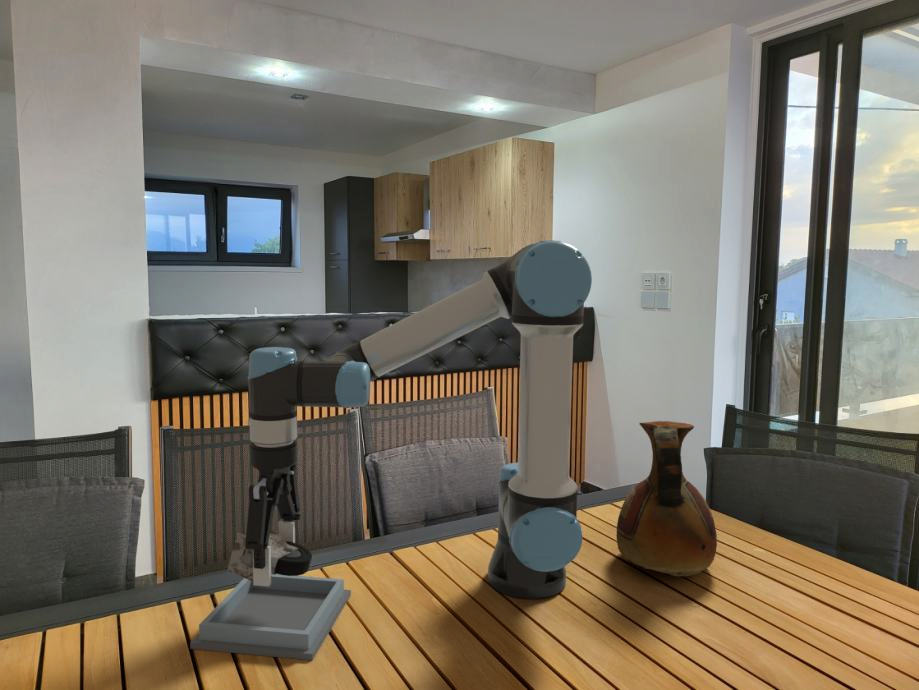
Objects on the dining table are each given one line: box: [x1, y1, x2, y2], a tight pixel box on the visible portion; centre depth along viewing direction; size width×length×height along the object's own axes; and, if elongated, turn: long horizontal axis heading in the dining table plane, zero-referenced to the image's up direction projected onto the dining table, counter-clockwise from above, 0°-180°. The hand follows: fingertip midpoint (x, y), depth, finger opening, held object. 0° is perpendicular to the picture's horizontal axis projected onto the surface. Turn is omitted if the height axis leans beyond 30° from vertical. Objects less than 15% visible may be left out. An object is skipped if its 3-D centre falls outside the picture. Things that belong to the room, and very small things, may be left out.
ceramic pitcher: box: [616, 420, 718, 577], centre depth 131 cm, size 20×20×30 cm
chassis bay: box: [189, 574, 352, 661], centre depth 109 cm, size 20×20×4 cm
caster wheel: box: [227, 531, 313, 582], centre depth 108 cm, size 7×11×10 cm
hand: (275, 570), depth 109 cm, fingers closed on caster wheel, 9 cm apart
